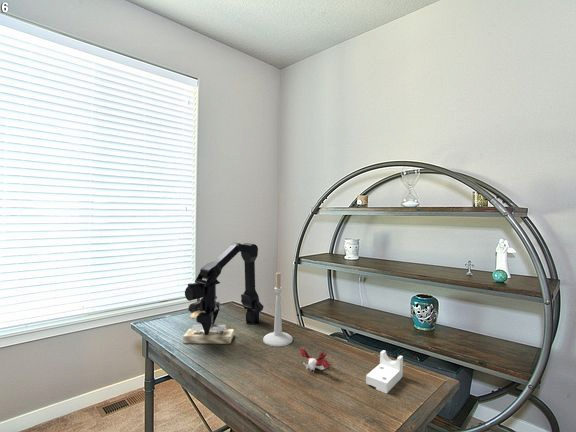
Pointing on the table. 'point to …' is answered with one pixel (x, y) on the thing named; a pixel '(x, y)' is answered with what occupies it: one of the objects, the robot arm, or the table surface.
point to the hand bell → (196, 312)
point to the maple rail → (209, 336)
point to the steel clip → (213, 327)
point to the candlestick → (278, 322)
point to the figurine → (315, 360)
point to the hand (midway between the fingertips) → (209, 330)
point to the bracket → (385, 373)
